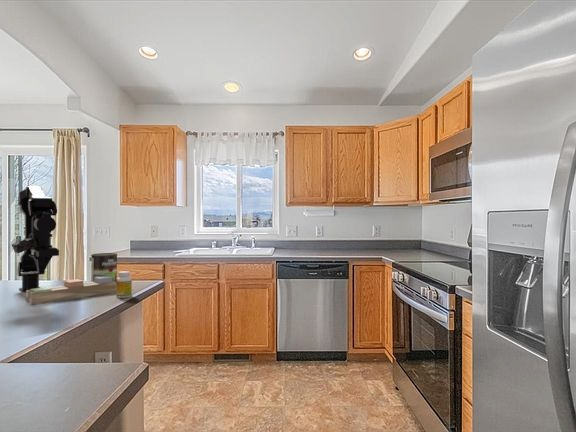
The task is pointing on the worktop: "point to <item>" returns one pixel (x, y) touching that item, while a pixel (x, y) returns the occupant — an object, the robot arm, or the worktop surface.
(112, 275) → the coffee can
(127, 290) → the supplement bottle
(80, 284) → the terracotta key
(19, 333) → the worktop surface
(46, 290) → the sage key
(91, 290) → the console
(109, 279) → the slate key
